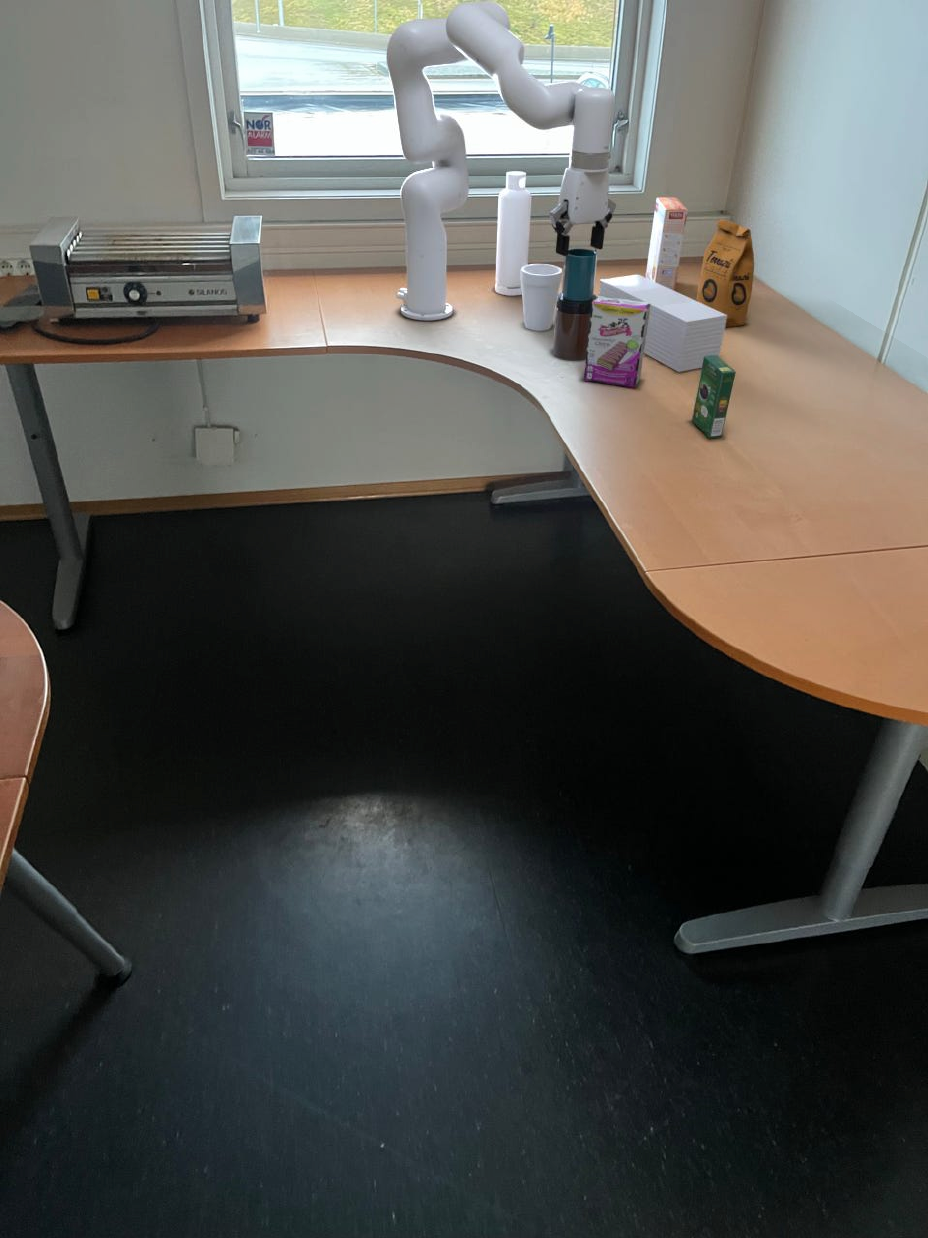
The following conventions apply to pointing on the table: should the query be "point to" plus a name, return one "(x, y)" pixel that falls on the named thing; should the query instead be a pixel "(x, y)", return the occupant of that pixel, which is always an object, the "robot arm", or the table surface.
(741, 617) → the table surface
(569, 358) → the jar
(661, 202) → the cracker box
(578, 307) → the jar lid
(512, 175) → the bottle
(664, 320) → the stack of papers
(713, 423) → the coffee box
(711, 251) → the coffee package
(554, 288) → the foam cup
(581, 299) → the cup
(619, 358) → the candy bar box
